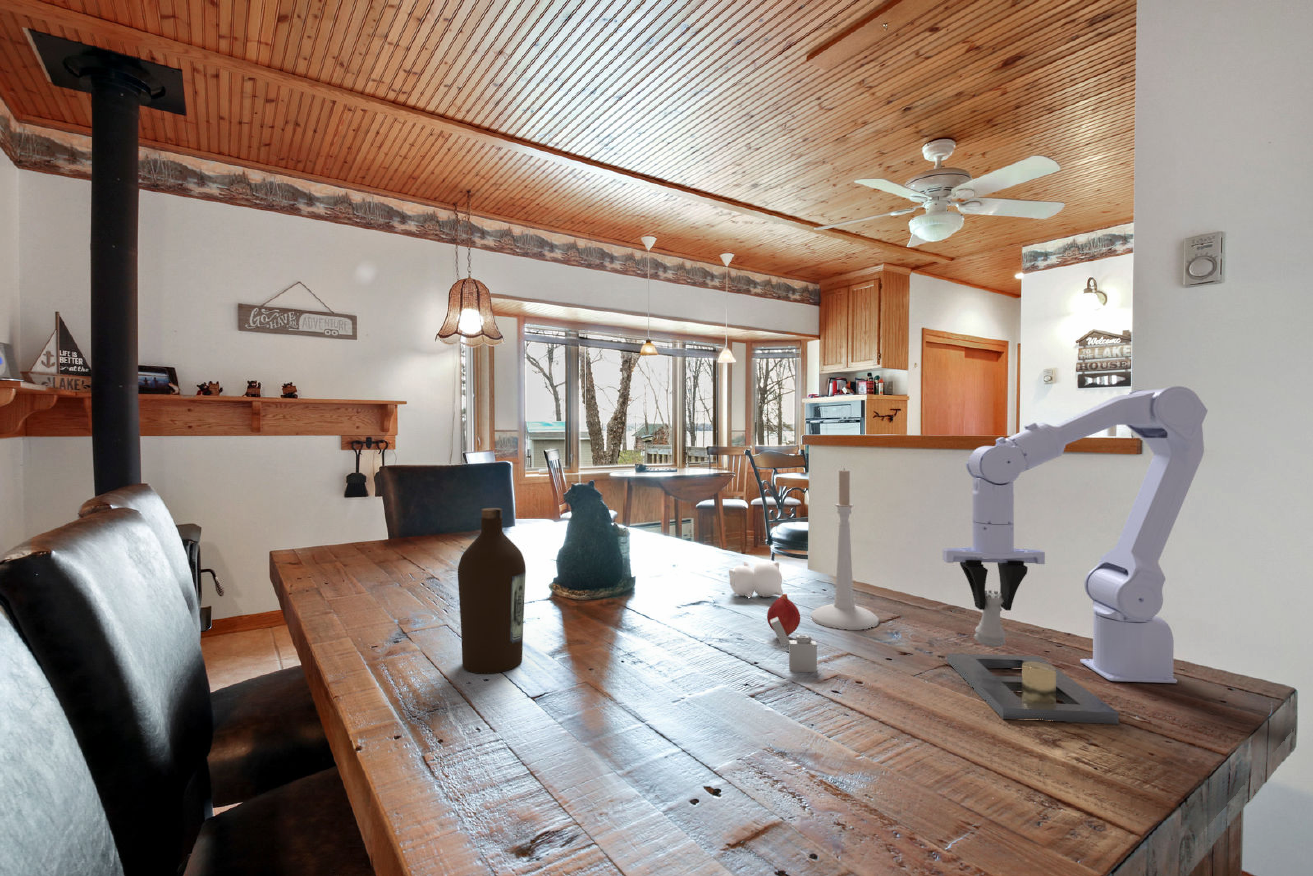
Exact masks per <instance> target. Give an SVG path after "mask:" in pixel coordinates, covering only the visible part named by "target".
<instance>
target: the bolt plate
mask: <svg viewBox="0 0 1313 876" xmlns="http://www.w3.org/2000/svg"><path fill="white" fill-rule="evenodd" d="M946 654H947V656H946V657H947V662H948V663H949V664H950V665H951V666H952V667H953V668H954V669H955V670H956V671H957V672H958V673H959V674H960V675H961V676H960V675H959V674H958V673H957V672H956V671H955V670H954V669H953V668H952V667H951V666H950V665H949V664H948V663H947V664H948V665H949V666H950V667H951V668H952V669H953V670H954V671H955V672H956V673H957V674H958V675H959V676H960V677H961V678H962V679H963V678H964V679H965V680H966V681H965V680H964V679H963V680H964V681H965V682H966V683H967V682H968V683H969V684H970V685H969V684H968V683H967V684H968V685H969V687H971V688H972V687H973V688H974V689H973V688H972V689H973V690H974V692H976V693H977V695H979V697H980V698H981V699H982V700H983V699H984V700H986V702H987V703H988V704H989V705H990V706H991V707H992V708H993V709H992V708H991V707H990V706H989V705H988V704H987V703H986V702H985V703H986V704H987V705H988V706H989V707H990V708H991V709H992V710H993V711H994V710H995V711H996V712H997V713H998V714H999V715H1000V716H1001V717H1002V718H1001V717H1000V716H999V715H998V714H997V713H996V712H995V711H994V712H995V713H996V714H997V715H998V716H999V717H1000V718H1001V719H1002V720H1003V719H1039V720H1040V719H1041V720H1042V719H1043V720H1051V721H1052V720H1053V721H1066V722H1065V723H1075V722H1076V723H1079V724H1080V723H1081V724H1099V725H1101V724H1102V723H1103V725H1105V724H1107V725H1119V724H1120V717H1119V716H1120V715H1119V714H1120V712H1119V711H1117V710H1116V709H1115V708H1113V707H1112V706H1110V705H1109V704H1108V703H1106V702H1105V701H1103V700H1102V699H1100V698H1099V697H1098V696H1096V695H1095V694H1093V693H1092V692H1091V691H1089V690H1088V689H1086V688H1085V687H1083V686H1082V685H1081V684H1079V683H1078V682H1076V681H1075V680H1073V679H1072V678H1071V677H1069V676H1068V675H1067V674H1065V673H1064V672H1062V670H1060V669H1058V668H1057V667H1056V666H1054V665H1053V664H1051V663H1049V661H1047V660H1046V659H1044V658H1043V657H1041V656H1040V655H1014V654H985V653H984V654H983V653H981V654H979V653H977V654H975V653H953V652H952V653H950V652H949V653H946ZM990 668H1022V670H1021V676H1013V675H1011V676H1010V675H1009V676H1008V675H1007V676H1006V675H994V674H993V673H992V672H991V671H990V670H988V669H990ZM1012 691H1022V693H1021V698H1020V697H1019V696H1017V694H1016V693H1015V692H1012ZM1056 696H1057V697H1058V698H1059V700H1060V701H1061V700H1062V701H1063V702H1062V701H1061V702H1062V703H1057V699H1058V698H1057V697H1056ZM984 700H983V701H984ZM1022 700H1023V701H1022ZM1076 723H1075V724H1076ZM1100 723H1101V724H1100Z"/></svg>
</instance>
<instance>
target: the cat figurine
mask: <svg viewBox="0 0 1313 876" xmlns="http://www.w3.org/2000/svg"><path fill="white" fill-rule="evenodd" d="M780 571H781V570H780V563H779V562H777V561H776V562H773V563H772V562H771V563H770V562H768V561H759V562H758V563H756V564H755V565H754V567H753V568H752V567H751V566H750V564H749V563H748V562H747V561H744V562H743V565H742V564H741V565H740V564H738V565H736V566H735V567H733V568H729V570H728V575H729V585H730V588H731V590H732V591H733V593H735V594H736V595H738V596H740V595H741V597H742V596H743V595H744V596H746V598H747V597H751V598H752V596H753V595H754V593H755V594H756V595H757V596H758V597H761V596H762V597H761V598H769V597H772V596H780V597H781V596H782V595H783V594H784V592H783V588H782V584H783V576H782V573H781V572H780Z"/></svg>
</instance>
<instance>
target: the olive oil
mask: <svg viewBox="0 0 1313 876" xmlns="http://www.w3.org/2000/svg"><path fill="white" fill-rule="evenodd" d="M502 510H503V509H502V508H499V507H487V508H482V509H481V517H480V529H481V530H480V531H481V532H480V533H479V534H478V536H477V537H476V538H475V539H474V540H473V542H471V544H470V545H469V546H468V547H467V548H466V549H465V550H464V551H463V554H462V555H461V557H460V559H459V563H458V567H457V582H458V583H457V585H458V598H459V599H458V600H459V602H458V603H459V615H460V616H459V617H460V634H461V659H462V660H461V662H462V663H461V664H462V668H463V669H464V670H465V671H467V672H469V673H474V674H481V675H482V674H485V675H486V674H498V673H503V672H507V671H510V670H512V669H515V668H516V667H518V666H519V665H520V664H521V663H522V662H523V651H524V650H523V649H524V648H523V647H524V646H523V644H524V643H523V642H524V640H523V639H524V619H525V617H524V615H525V591H526V590H525V589H526V577H527V576H526V573H527V570H526V563H525V558H524V556H523V552H521V550H520V548H519V547H517V545H515V543H514V542H513V541H512V540H511V539H510V538H509V537H508V536H507V535H506V534H505V533H504V531H503V516H502V514H503V511H502Z"/></svg>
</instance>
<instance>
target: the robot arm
mask: <svg viewBox="0 0 1313 876" xmlns="http://www.w3.org/2000/svg"><path fill="white" fill-rule="evenodd" d="M1207 414H1208V409H1207V407H1206V406H1205V404H1204V403H1203V402H1202V400H1201V398H1199V396H1198V395H1197V393H1196V392H1195V391H1194V390H1192V389H1191V388H1188V387H1185V386H1180V385H1175V386H1170V387H1166V388H1155V389H1136V390H1131V391H1130V392H1128V393H1126V394H1121V395H1117V396H1114V397H1112V398H1109V399H1108V400H1105V401H1103V402H1101V403H1099V404H1097V405H1095V406H1093V407H1091V408H1089V409H1087V410H1085V411H1083V412H1081V413H1079V414H1076V415H1074V416H1073V417H1069V419H1066V420H1064V421H1062V422H1060V423H1057V424H1056V425H1052V424H1051V425H1050V424H1048V423H1045V422H1041V423H1038V424H1037V423H1036V422H1031V423H1028V424H1025V425H1024V426H1023V427H1024V430H1022V431H1020V432H1018V433H1015V434H1012V435H1011V436H1008V437H1006V438H1005V437H1003V436H1002V437H998V438H996V439H995V445H994V446H993V445H982V446H980V447H979V446H978V447H977V448H976V449H974V450H973V451H972V454H970V455H969V457H968V458H969V459H968V461H967V462H966V463H965V466H966V469H967V472H968V474H969V475H970V476H971V478H972V496H971V497H972V546H970V547H969V546H967V547H966V546H965V547H953V548H951V547H948V548H946V547H945V548H944V547H943V548H942V561H944V562H945V563H947V564H948V563H950V564H951V563H952V564H953V563H959V566H960V567H961V569H962V570H963V574H965V577H966V579H967V582H968V584H969V587H970V590H971V593H972V597H973V601H974V607H975V608H977V609H978V610H980V611H983V610H985V590H986V583H987V575H988V571H989V569H987V568H986V567H984V564H982V563H997V568H998V574H999V576H998V577H999V583H1000V584H999V585H1000V588H999V593H1001V594H1002V598H1003V599H1004V602H1003V603H1002V604H1001V606H1000V607H1001V608H1002V610H1003V609H1004V611H1012V606H1013V603H1014V599H1015V597H1016V593H1017V590H1018V588H1019V587H1020V584H1021V582H1022V581H1023V580H1024V578H1025V577H1026V576H1027V574H1028V566H1027V565H1025V564H1036V565H1045V564H1046V561H1045V560H1046V553H1045V551H1043V550H1040V549H1030V548H1029V549H1028V548H1015V544H1014V542H1015V539H1014V538H1015V537H1014V536H1015V535H1014V533H1015V532H1014V527H1015V526H1014V521H1015V520H1014V519H1015V518H1014V517H1015V516H1014V513H1015V512H1014V511H1015V510H1014V509H1015V508H1014V507H1015V506H1014V504H1015V503H1014V500H1015V499H1014V498H1015V496H1014V494H1015V493H1014V482H1015V481H1016V480H1017V479H1018V478H1019V476H1020V475H1021V473H1024V472H1026V471H1029V470H1031V469H1033V468H1035V467H1038V466H1040V465H1043V464H1045V463H1048V462H1049V461H1052V460H1054V459H1057V458H1059V457H1060V456H1062V455H1063V453H1064V451H1065V449H1066V445H1069V444H1071V443H1073V442H1076V441H1079V440H1081V439H1084V438H1087V437H1089V436H1092V435H1094V434H1097V433H1099V432H1102V431H1105V430H1108V429H1110V428H1112V427H1115V426H1119V425H1121V426H1126V427H1127V428H1129V429H1130V430H1131V431H1132V432H1133V433H1135V434H1136V435H1137V436H1138V437H1139V438H1141V439H1142V440H1143V441H1144V442H1146V444H1147V445H1148V447H1149V449H1150V450H1151V452H1152V453H1153V457H1152V459H1151V462H1150V464H1149V466H1148V468H1147V471H1146V472H1145V476H1144V478H1143V480H1142V483H1141V485H1140V488H1139V491H1138V492H1137V495H1136V497H1135V499H1134V502H1133V505H1132V507H1131V509H1130V512H1129V514H1128V516H1127V519H1126V521H1125V523H1124V527H1123V529H1122V530H1121V533H1120V535H1119V538H1118V540H1117V543H1116V545H1115V546H1114V547H1113V548H1112V549H1111V550H1109V551H1107V552H1105V553H1104V554H1103V555H1102V556H1101V557H1100V559H1099V561H1098V563H1097V565H1095V566H1094V568H1092V569H1091V570H1089V572H1088V573H1087V574H1086V576H1085V578H1084V581H1083V582H1084V583H1083V585H1084V591H1085V593H1086V595H1087V596H1088V598H1089V599H1090V600H1092V611H1093V612H1092V658H1080V661H1079V662H1080V663H1081V664H1082V665H1085V666H1086V667H1088V668H1089V669H1091V670H1092V671H1094V672H1095V673H1097V674H1099V675H1100V676H1101V677H1103V678H1105V679H1107V680H1108V681H1110V682H1111V681H1112V682H1134V683H1135V682H1137V683H1163V684H1165V683H1166V684H1178V679H1177V678H1175V677H1174V655H1175V654H1174V652H1175V651H1174V648H1175V647H1174V644H1175V643H1174V641H1175V640H1174V636H1173V632H1172V629H1171V627H1170V625H1169V623H1168V622H1167V621H1166V620H1164V619H1163V618H1162V617H1160V616H1157V615H1158V614H1159V613H1160V611H1161V610H1162V607H1163V603H1164V596H1163V588H1164V585H1165V581H1166V576H1165V574H1164V572H1163V570H1162V568H1161V566H1160V563H1159V560H1160V558H1161V556H1162V553H1163V552H1164V548H1165V547H1166V544H1167V541H1168V539H1169V537H1170V535H1171V532H1172V530H1173V528H1174V525H1175V523H1176V520H1177V518H1178V515H1179V513H1180V511H1181V508H1182V507H1183V504H1184V501H1185V499H1186V496H1187V494H1188V492H1189V491H1190V490H1189V489H1190V487H1191V484H1192V482H1193V480H1194V478H1195V475H1196V474H1197V471H1198V469H1199V466H1200V464H1201V462H1202V459H1203V456H1204V452H1205V445H1204V443H1205V442H1204V432H1203V423H1204V421H1205V418H1206V416H1207Z"/></svg>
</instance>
